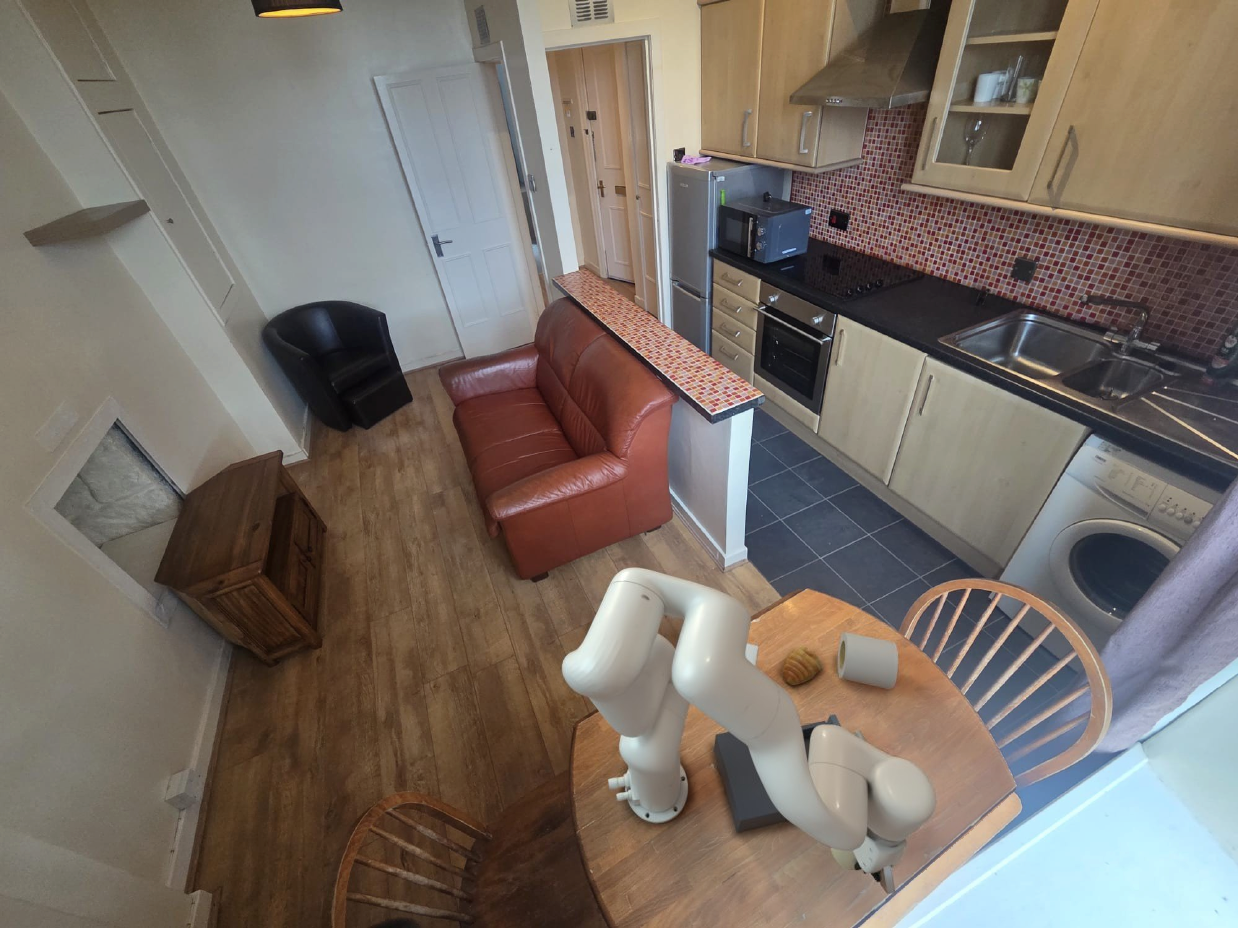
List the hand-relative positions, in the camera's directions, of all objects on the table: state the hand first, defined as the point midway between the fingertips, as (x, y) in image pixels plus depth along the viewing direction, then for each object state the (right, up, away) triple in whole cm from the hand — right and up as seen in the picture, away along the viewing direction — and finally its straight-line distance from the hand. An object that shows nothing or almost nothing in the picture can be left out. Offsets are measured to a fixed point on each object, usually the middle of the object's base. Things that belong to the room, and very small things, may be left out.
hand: (853, 842), depth 85 cm
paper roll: (0, -4, +4) cm, 5 cm away
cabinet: (-11, -1, +17) cm, 20 cm away
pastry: (+3, +15, +33) cm, 37 cm away
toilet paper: (+16, +16, +32) cm, 39 cm away
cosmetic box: (-11, +13, +32) cm, 36 cm away
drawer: (+2, +2, +17) cm, 18 cm away
